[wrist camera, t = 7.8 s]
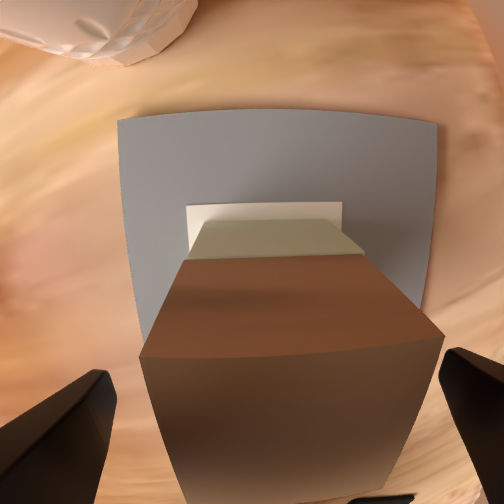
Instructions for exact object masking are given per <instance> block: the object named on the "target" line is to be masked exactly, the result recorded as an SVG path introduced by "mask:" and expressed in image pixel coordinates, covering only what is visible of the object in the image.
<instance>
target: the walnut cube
mask: <svg viewBox="0 0 504 504" xmlns="http://www.w3.org/2000/svg"><path fill="white" fill-rule="evenodd" d="M444 338H445V335H444V334H443V333H442V332H441V331H440V330H439V329H438V328H437V327H436V325H435V324H434V323H433V322H432V321H431V320H430V319H429V318H428V317H427V316H426V315H425V314H424V313H423V312H422V311H421V310H420V309H419V308H418V307H417V306H416V305H415V304H414V303H413V302H412V301H411V300H410V299H409V298H408V297H407V296H406V295H405V294H404V293H403V292H401V291H400V290H399V289H398V288H397V287H396V286H395V285H394V284H393V283H392V282H391V281H390V280H389V279H388V278H387V277H386V276H385V275H384V274H383V273H382V272H381V271H380V270H378V269H377V268H376V267H375V266H374V265H373V264H372V263H371V262H370V261H369V260H368V259H367V258H366V257H364V256H363V255H362V254H340V255H313V256H285V257H256V258H226V259H195V260H183V263H182V265H181V267H180V269H179V271H178V273H177V275H176V277H175V279H174V281H173V283H172V285H171V287H170V289H169V292H168V294H167V296H166V298H165V300H164V302H163V304H162V307H161V309H160V311H159V313H158V315H157V317H156V320H155V322H154V324H153V326H152V328H151V331H150V333H149V335H148V337H147V339H146V342H145V344H144V346H143V349H142V351H141V353H140V355H139V359H140V363H141V367H142V371H143V375H144V379H145V382H146V386H147V390H148V393H149V397H150V400H151V403H152V407H153V410H154V413H155V417H156V420H157V423H158V426H159V429H160V432H161V435H162V438H163V441H164V444H165V447H166V450H167V453H168V455H169V458H170V461H171V464H172V466H173V469H174V472H175V474H176V477H177V480H178V482H179V485H180V487H181V490H182V492H183V494H184V497H185V499H186V502H187V504H298V503H306V502H314V501H321V500H327V499H334V498H339V497H345V496H350V495H355V494H360V493H364V492H369V491H373V490H377V489H381V488H382V487H383V486H384V484H385V482H386V480H387V478H388V477H389V475H390V473H391V471H392V469H393V467H394V465H395V463H396V461H397V459H398V457H399V455H400V453H401V451H402V449H403V447H404V445H405V443H406V440H407V438H408V436H409V434H410V432H411V429H412V427H413V425H414V422H415V420H416V418H417V415H418V413H419V410H420V408H421V405H422V403H423V400H424V398H425V395H426V392H427V390H428V387H429V384H430V381H431V379H432V376H433V373H434V370H435V367H436V364H437V361H438V358H439V354H440V351H441V348H442V345H443V341H444Z"/></svg>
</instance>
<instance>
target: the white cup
mask: <svg viewBox="0 0 504 504" xmlns="http://www.w3.org/2000/svg"><path fill="white" fill-rule="evenodd" d="M197 7H198V0H0V39H4V40H7V41H11V42H15V43H18V44H21V45H25V46H28V47H31V48H35V49H41V50H44V51H47V52H50V53H53V54H57V55H61V56H67V57H73V58H76V59H79V60H81V61H84V62H86V63H89V64H91V65H94V66H96V67H126V66H129V65H132V64H134V63H136V62H139V61H141V60H144V59H146V58H149V57H152V56H154V55H157V54H159V53H160V52H161V51H162V50H163V49H164V48H165V47H167V46H168V45H169V44H170V43H171V42H173V41H174V40H175V39H176V38H177V37H179V36H180V35H181V34H182V33H183V32H184V31H185V29H186V27H187V25H188V23H189V22H190V20H191V18H192V16H193V14H194V12H195V11H196V9H197Z"/></svg>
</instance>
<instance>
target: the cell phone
mask: <svg viewBox="0 0 504 504" xmlns="http://www.w3.org/2000/svg"><path fill="white" fill-rule="evenodd" d="M414 499H415V498H414V495H402V496H390V497H374V498H357V499H353V500H351V501H350V502H349V503H347V504H409V503H410V502H412V501H413V500H414Z"/></svg>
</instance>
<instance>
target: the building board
mask: <svg viewBox="0 0 504 504" xmlns="http://www.w3.org/2000/svg"><path fill="white" fill-rule="evenodd" d="M117 124H118V152H119V170H120V184H121V196H122V207H123V217H124V226H125V234H126V242H127V250H128V257H129V264H130V271H131V277H132V283H133V289H134V295H135V301H136V306H137V312H138V317H139V322H140V327H141V332H142V337H143V341H144V344H145V342H146V339H147V337H148V335H149V333H150V331H151V328H152V326H153V324H154V322H155V320H156V317H157V315H158V313H159V311H160V309H161V307H162V304H163V302H164V300H165V298H166V296H167V294H168V292H169V289H170V287H171V285H172V283H173V281H174V279H175V277H176V275H177V273H178V271H179V269H180V267H181V265H182V263H183V260H187V257H188V254H189V252H190V250H191V248H192V246H193V244H194V242H195V240H196V238H197V236H198V234H199V232H200V230H201V228H202V225H203V223H204V222H209V221H237V220H272V219H327V220H328V221H330V222H331V223H332V224H333V225H334V226H336V227H337V228H338V229H339V230H340V231H342V232H343V233H344V234H345V235H346V236H347V237H349V238H350V239H351V240H352V241H353V242H354V243H356V244H357V245H358V246H359V247H360V248H361V249H363V250H364V251H365V255H364V257H366V258H367V259H368V260H369V261H370V262H371V263H372V264H373V265H374V266H375V267H376V268H377V269H378V270H380V271H381V272H382V273H383V274H384V275H385V276H386V277H387V278H388V279H389V280H390V281H391V282H392V283H393V284H394V285H395V286H396V287H397V288H398V289H399V290H400V291H401V292H403V293H404V294H405V295H406V296H407V297H408V298H409V299H410V300H411V301H412V302H413V303H414V304H415V305H416V306H417V307H418V308H419V309H420V306H421V301H422V296H423V291H424V286H425V280H426V274H427V268H428V261H429V254H430V247H431V239H432V230H433V221H434V210H435V197H436V181H437V146H438V135H437V123H433V122H427V121H421V120H414V119H407V118H400V117H393V116H384V115H375V114H366V113H355V112H342V111H327V110H305V109H233V110H211V111H196V112H183V113H172V114H162V115H153V116H145V117H137V118H129V119H122V120H117Z"/></svg>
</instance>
